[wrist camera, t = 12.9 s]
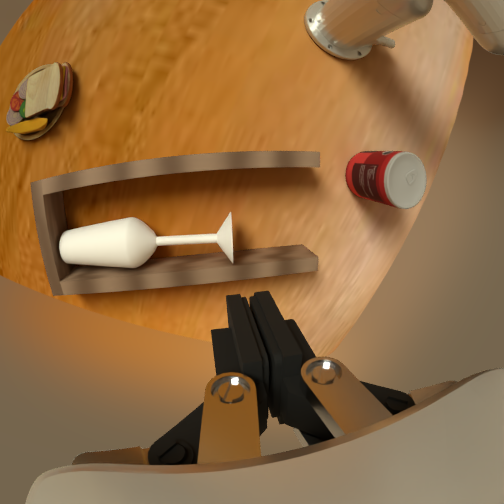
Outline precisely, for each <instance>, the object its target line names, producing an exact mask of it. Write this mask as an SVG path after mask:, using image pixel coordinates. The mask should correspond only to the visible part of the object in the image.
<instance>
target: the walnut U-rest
mask: <svg viewBox="0 0 504 504" xmlns="http://www.w3.org/2000/svg"><path fill="white" fill-rule="evenodd" d="M267 167H320V152H308V151H246V152H223V153H206V154H193V155H182V156H172V157H163V158H154V159H146V160H139V161H132V162H125V163H119V164H113V165H107V166H102V167H96V168H91V169H86V170H81V171H77V172H72V173H67V174H63V175H59V176H55V177H51V178H47V179H43V180H39V181H35V182H32V183H31V192H32V200H33V208H34V215H35V221H36V227H37V233H38V238H39V243H40V248H41V252H42V257H43V261H44V265H45V269H46V272H47V276H48V280H49V283H50V287H51V290H52V293H53V296H55V295H73V294H88V293H103V292H117V291H130V290H142V289H154V288H165V287H176V286H187V285H197V284H207V283H217V282H226V281H235V280H244V279H253V278H262V277H271V276H279V275H287V274H295V273H303V272H311V271H318V256H317V255H315V254H314V253H313V252H311V251H310V250H309V249H308V248H306V247H305V246H304V245H292V246H281V247H271V248H260V249H250V250H239V251H233V263H232V262H231V261H230V259H229V258H228V257H227V255H226V254H225V253H224V252H218V253H208V254H198V255H187V256H177V257H167V258H156V259H148V260H147V261H146V262H145V263H144V264H142V265H141V266H139V267H137V268H123V267H108V266H94V265H85V266H75V264H69V263H66V262H64V261H63V259H62V257H61V254H60V249H59V243H60V238H61V235H62V234H63V232H64V231H67V230H68V228H67V222H66V215H65V208H64V201H63V192H62V191H63V190H68V189H73V188H78V187H83V186H88V185H94V184H100V183H106V182H112V181H118V180H125V179H132V178H139V177H147V176H155V175H164V174H173V173H183V172H194V171H206V170H221V169H239V168H267Z"/></svg>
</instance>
